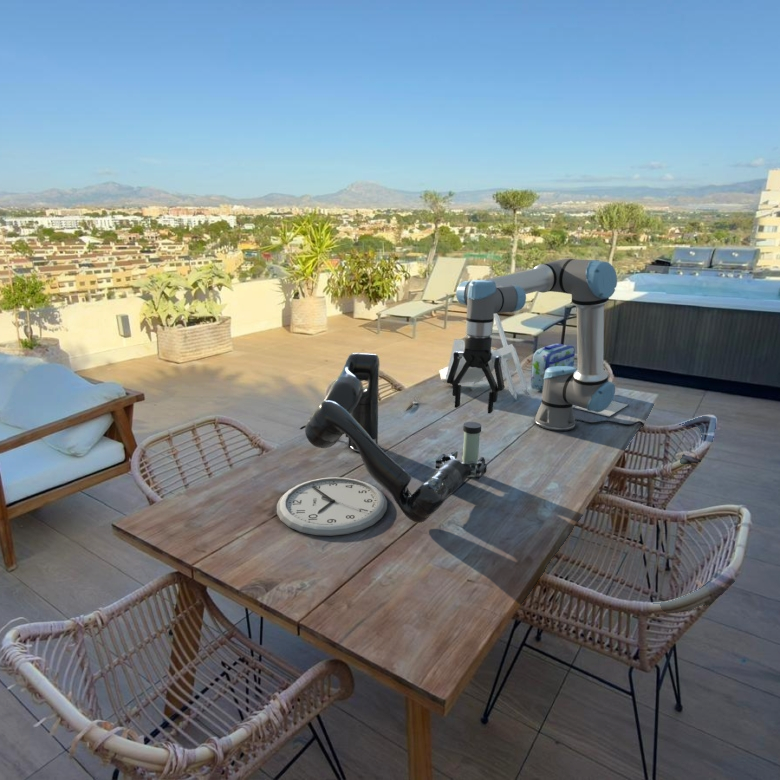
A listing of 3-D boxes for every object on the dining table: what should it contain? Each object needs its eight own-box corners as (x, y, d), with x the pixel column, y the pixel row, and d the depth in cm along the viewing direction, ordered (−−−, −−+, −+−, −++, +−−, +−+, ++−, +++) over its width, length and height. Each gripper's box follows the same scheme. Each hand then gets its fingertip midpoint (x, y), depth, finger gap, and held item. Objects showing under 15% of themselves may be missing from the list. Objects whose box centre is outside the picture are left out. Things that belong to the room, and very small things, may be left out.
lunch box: (547, 395, 239) (552, 351, 233) (526, 390, 247) (530, 347, 240) (574, 384, 257) (579, 343, 251) (554, 380, 264) (558, 339, 258)
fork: (403, 411, 216) (403, 406, 215) (414, 400, 230) (414, 395, 230) (409, 412, 215) (409, 407, 215) (420, 400, 229) (420, 396, 229)
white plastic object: (461, 429, 252) (437, 405, 227) (444, 352, 274) (420, 323, 250) (535, 404, 240) (518, 377, 215) (510, 326, 262) (492, 293, 237)
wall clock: (392, 527, 129) (268, 531, 127) (391, 533, 130) (269, 537, 127) (383, 473, 158) (282, 475, 155) (383, 478, 158) (282, 480, 156)
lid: (484, 431, 158) (485, 425, 157) (472, 435, 155) (472, 429, 154) (472, 426, 162) (472, 420, 161) (459, 429, 159) (459, 424, 158)
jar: (479, 474, 162) (483, 426, 157) (469, 478, 159) (472, 430, 155) (469, 469, 166) (472, 422, 161) (458, 473, 163) (461, 425, 158)
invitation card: (608, 416, 214) (573, 407, 224) (608, 416, 214) (573, 408, 224) (628, 404, 229) (594, 396, 238) (628, 405, 229) (594, 397, 238)
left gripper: (425, 483, 150) (447, 462, 164) (471, 496, 144) (491, 473, 157) (426, 459, 148) (448, 440, 162) (473, 471, 141) (493, 450, 155)
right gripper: (520, 337, 148) (513, 411, 155) (446, 329, 157) (443, 400, 164) (513, 342, 142) (507, 419, 148) (437, 333, 151) (434, 406, 158)
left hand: (469, 456), depth 159 cm, fingers open, 8 cm apart
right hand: (473, 409), depth 156 cm, fingers open, 10 cm apart
